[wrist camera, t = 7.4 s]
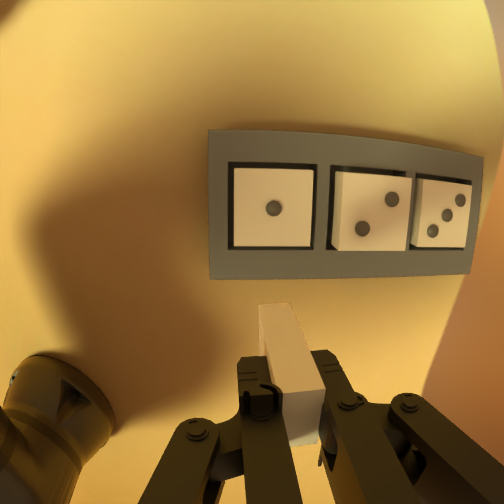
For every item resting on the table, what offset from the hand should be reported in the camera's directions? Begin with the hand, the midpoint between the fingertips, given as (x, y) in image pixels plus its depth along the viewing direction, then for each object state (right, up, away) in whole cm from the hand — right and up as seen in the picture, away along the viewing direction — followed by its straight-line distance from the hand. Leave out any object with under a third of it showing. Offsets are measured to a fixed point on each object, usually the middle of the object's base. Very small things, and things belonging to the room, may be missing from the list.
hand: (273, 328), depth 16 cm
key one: (0, +8, +11) cm, 13 cm away
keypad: (+8, +8, +13) cm, 17 cm away
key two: (+9, +7, +10) cm, 15 cm away
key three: (+16, +8, +12) cm, 22 cm away
